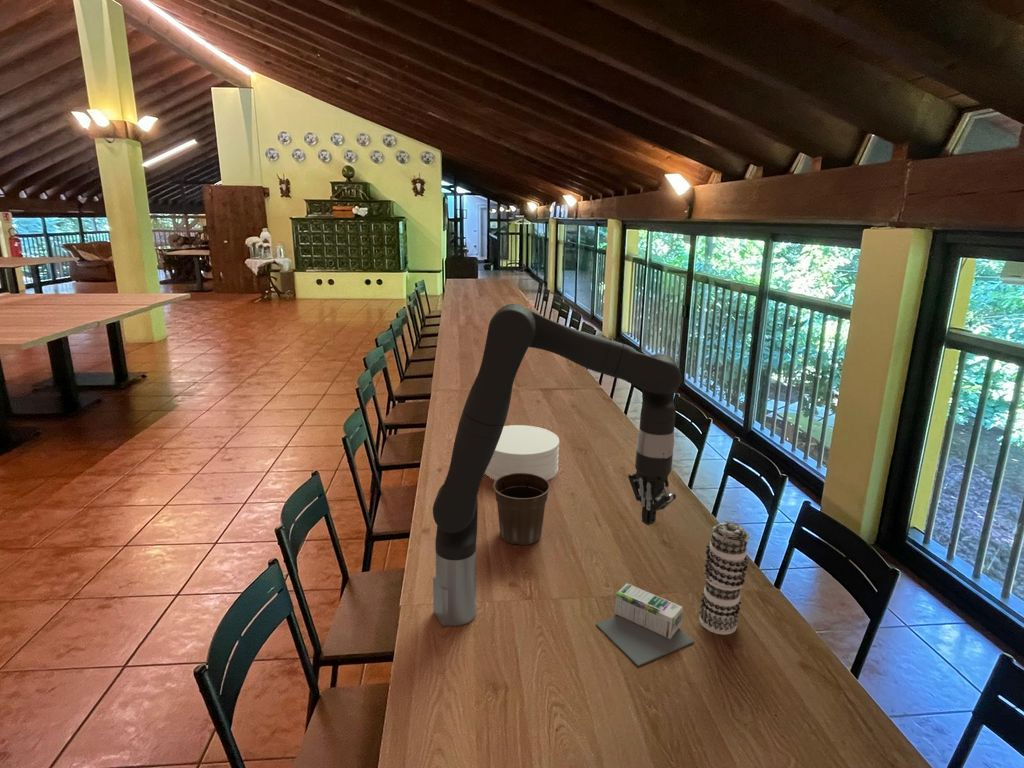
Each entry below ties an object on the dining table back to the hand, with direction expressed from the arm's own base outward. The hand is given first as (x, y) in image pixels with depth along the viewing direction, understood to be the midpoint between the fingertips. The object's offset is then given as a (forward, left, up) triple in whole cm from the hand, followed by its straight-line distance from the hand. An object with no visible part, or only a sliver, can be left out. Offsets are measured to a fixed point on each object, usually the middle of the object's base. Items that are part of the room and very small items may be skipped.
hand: (648, 523), depth 134 cm
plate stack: (+19, +89, -28) cm, 95 cm away
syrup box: (0, +8, -24) cm, 25 cm away
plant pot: (-4, +48, -27) cm, 55 cm away
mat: (0, -2, -27) cm, 27 cm away
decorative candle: (+18, -7, -27) cm, 33 cm away
